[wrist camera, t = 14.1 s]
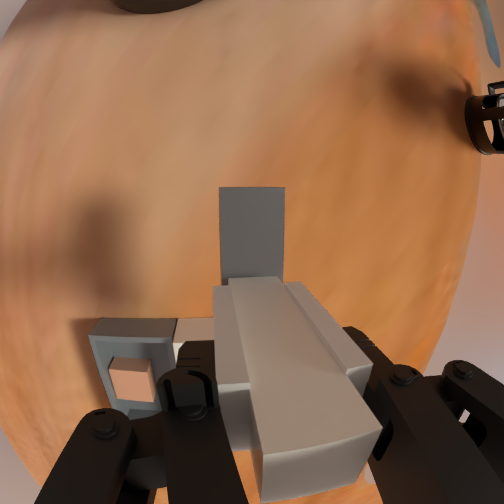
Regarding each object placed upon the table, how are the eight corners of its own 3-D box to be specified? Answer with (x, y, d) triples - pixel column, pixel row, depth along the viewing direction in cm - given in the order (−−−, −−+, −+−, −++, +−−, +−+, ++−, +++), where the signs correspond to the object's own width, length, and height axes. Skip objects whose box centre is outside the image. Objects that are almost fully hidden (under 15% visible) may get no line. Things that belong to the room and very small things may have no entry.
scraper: (218, 187, 15) (242, 191, 3) (271, 186, 16) (448, 202, 3) (224, 358, 18) (249, 543, 5) (268, 355, 18) (331, 527, 6)
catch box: (100, 317, 27) (88, 335, 23) (176, 318, 28) (171, 337, 25) (127, 408, 31) (121, 428, 27) (190, 411, 32) (189, 432, 28)
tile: (147, 372, 26) (151, 359, 29) (108, 368, 26) (114, 356, 28) (153, 402, 27) (156, 388, 30) (117, 398, 27) (121, 385, 29)
